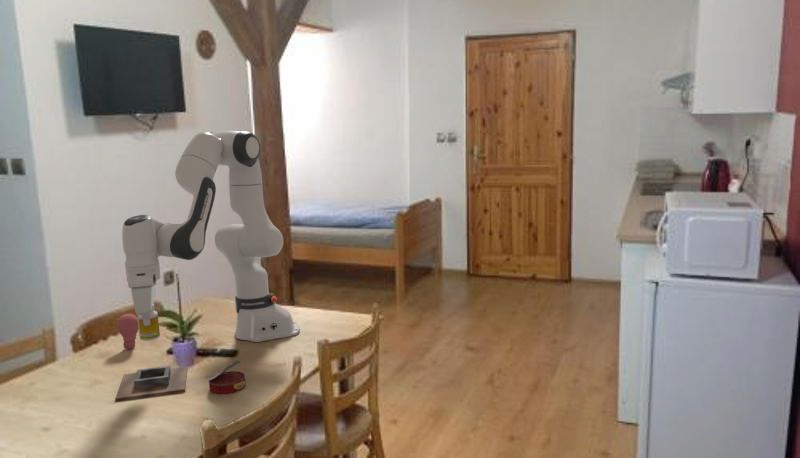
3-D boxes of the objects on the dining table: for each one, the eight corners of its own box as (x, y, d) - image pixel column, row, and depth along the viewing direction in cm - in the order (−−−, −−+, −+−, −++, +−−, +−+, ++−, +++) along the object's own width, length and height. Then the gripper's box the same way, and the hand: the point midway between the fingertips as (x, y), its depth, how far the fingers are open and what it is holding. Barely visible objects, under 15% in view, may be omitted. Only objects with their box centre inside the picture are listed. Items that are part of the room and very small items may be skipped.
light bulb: (146, 345, 222) (142, 311, 220) (135, 352, 215) (131, 317, 213) (126, 345, 222) (122, 311, 220) (115, 352, 215) (111, 317, 213)
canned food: (222, 411, 180) (203, 386, 175) (214, 394, 188) (196, 370, 184) (257, 386, 183) (239, 360, 178) (248, 371, 191) (230, 346, 187)
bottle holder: (187, 368, 199) (186, 358, 198) (185, 391, 182) (184, 380, 181) (124, 376, 194) (122, 366, 193) (115, 401, 177) (114, 389, 176)
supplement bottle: (162, 338, 185) (158, 305, 183) (142, 342, 182) (138, 309, 180) (157, 333, 189) (154, 301, 187) (138, 337, 186) (134, 304, 185)
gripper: (135, 266, 191) (140, 312, 194) (127, 283, 172) (132, 333, 174) (158, 264, 193) (162, 309, 195) (152, 281, 174) (157, 330, 176)
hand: (148, 321), depth 185 cm, fingers closed on supplement bottle, 5 cm apart
